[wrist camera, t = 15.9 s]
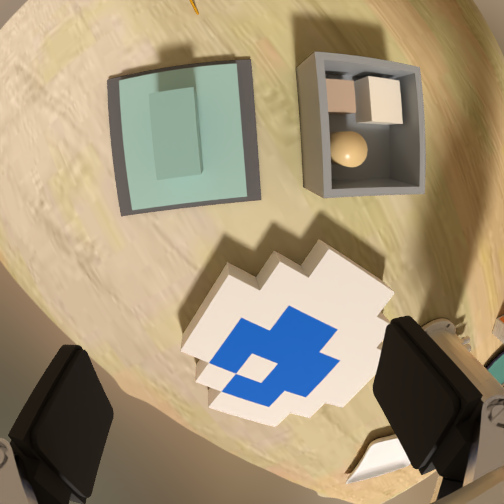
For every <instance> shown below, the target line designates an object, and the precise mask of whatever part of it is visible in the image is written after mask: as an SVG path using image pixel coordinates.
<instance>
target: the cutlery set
mask: <svg viewBox="0 0 504 504" xmlns="http://www.w3.org/2000/svg"><path fill="white" fill-rule="evenodd" d="M486 369H487V370H488V371H489V372H490V373H491V374H492V376H493V377H494V378H495V379H496V380H497V381H498V382H499V383H500V384H501V385H503V384H504V351H503V352H502V353H501V354H500V355H499V356H498V357H496V358H495V359H494V360H493V361H492V362H491V364H490V365H489V366H488V367H487V368H486ZM503 387H504V386H503Z"/></svg>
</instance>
